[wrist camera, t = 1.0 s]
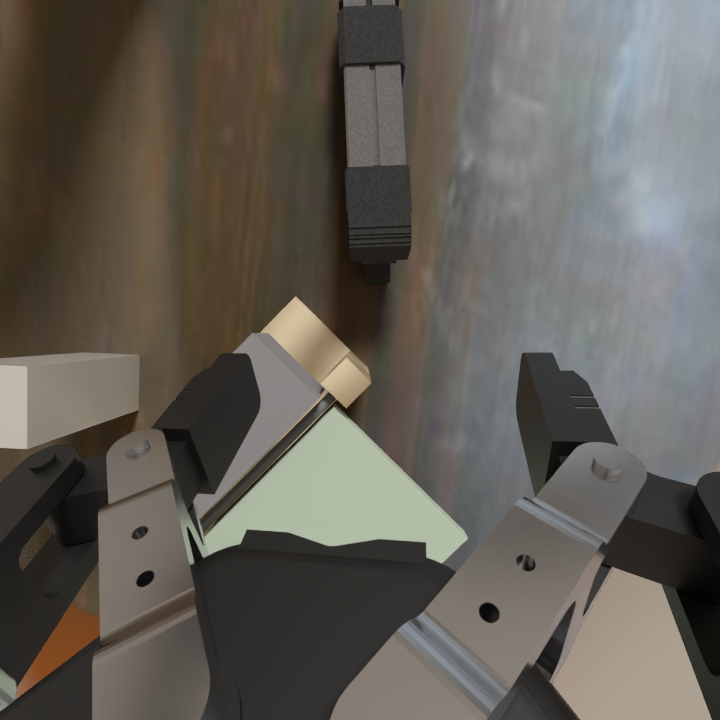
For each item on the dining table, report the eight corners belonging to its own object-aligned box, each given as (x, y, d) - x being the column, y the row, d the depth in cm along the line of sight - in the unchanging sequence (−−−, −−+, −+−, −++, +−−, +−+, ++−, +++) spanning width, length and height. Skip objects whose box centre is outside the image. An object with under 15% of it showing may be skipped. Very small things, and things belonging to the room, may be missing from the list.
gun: (349, 292, 35) (343, 219, 25) (342, 94, 40) (335, -27, 31) (405, 290, 35) (421, 216, 25) (391, 93, 40) (399, -30, 31)
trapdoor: (112, 491, 28) (71, 518, 24) (271, 329, 27) (256, 329, 23) (302, 670, 29) (293, 725, 25) (461, 516, 28) (478, 547, 24)
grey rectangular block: (83, 407, 36) (-56, 445, 24) (84, 352, 35) (-57, 362, 23) (138, 410, 36) (27, 449, 24) (139, 355, 35) (27, 366, 23)
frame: (135, 462, 36) (37, 519, 25) (297, 297, 35) (268, 281, 24) (206, 529, 36) (139, 614, 25) (367, 367, 35) (371, 383, 24)
